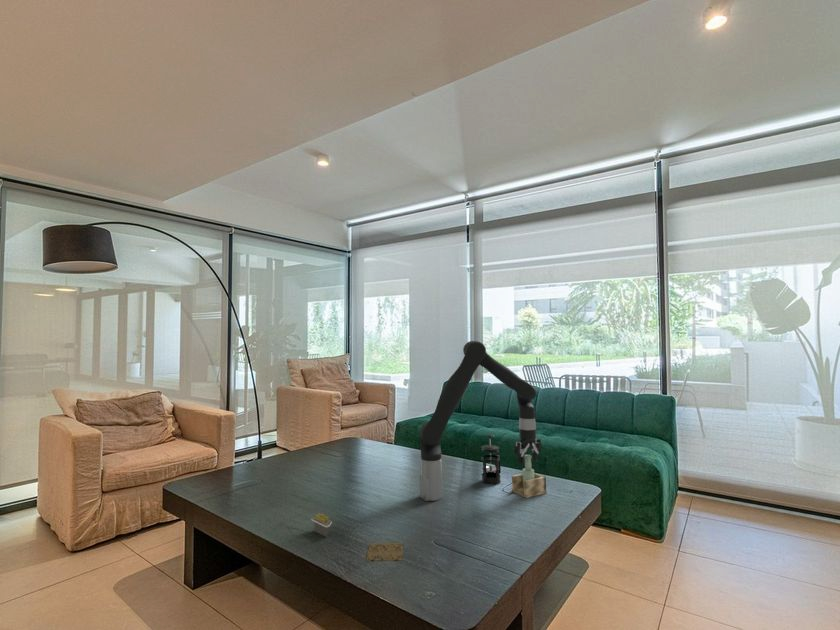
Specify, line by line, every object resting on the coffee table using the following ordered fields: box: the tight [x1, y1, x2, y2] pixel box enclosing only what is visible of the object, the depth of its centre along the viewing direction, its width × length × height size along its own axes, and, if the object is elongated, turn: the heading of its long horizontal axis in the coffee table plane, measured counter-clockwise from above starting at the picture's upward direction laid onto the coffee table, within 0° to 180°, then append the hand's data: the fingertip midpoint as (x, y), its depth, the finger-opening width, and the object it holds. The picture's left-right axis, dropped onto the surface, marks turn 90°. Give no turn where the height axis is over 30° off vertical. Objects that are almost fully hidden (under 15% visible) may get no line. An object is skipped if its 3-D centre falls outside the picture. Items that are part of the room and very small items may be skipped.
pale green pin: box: [522, 454, 535, 490], centre depth 195 cm, size 5×5×16 cm
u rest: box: [511, 472, 548, 499], centre depth 195 cm, size 12×10×7 cm
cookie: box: [365, 542, 404, 562], centre depth 142 cm, size 12×12×1 cm
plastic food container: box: [310, 512, 333, 538], centre depth 157 cm, size 12×18×7 cm, turn 48°
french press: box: [480, 433, 502, 486], centre depth 210 cm, size 12×9×23 cm
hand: (528, 463), depth 195 cm, fingers open, 8 cm apart
